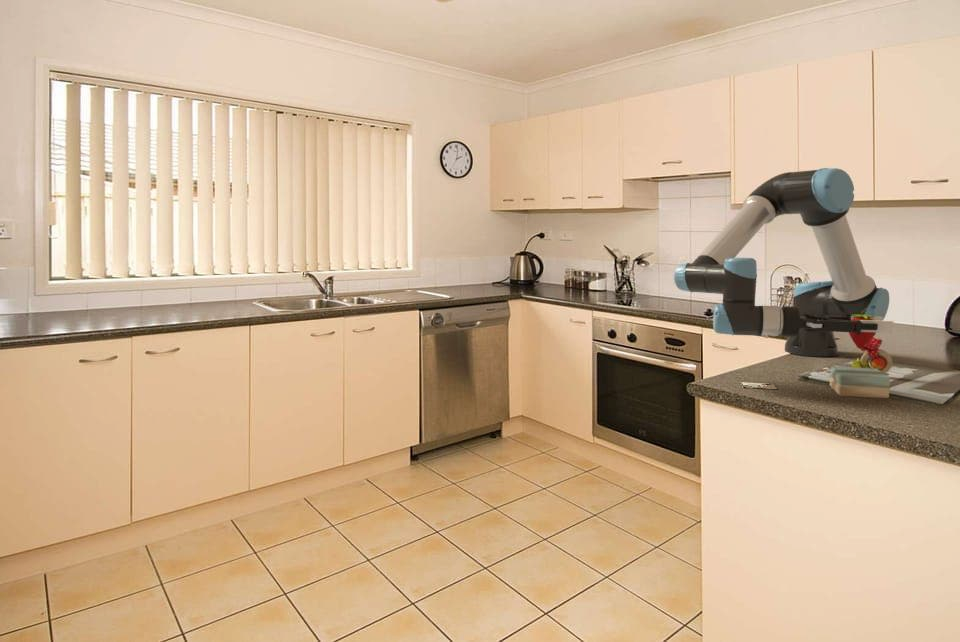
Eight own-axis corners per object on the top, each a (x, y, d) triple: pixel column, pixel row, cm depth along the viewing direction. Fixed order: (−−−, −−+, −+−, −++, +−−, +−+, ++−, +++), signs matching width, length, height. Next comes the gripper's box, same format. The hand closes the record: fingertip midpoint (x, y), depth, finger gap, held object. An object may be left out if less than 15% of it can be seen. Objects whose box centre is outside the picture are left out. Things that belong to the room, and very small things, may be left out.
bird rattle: (877, 381, 167) (843, 366, 170) (899, 346, 164) (864, 331, 166) (881, 387, 161) (846, 371, 164) (905, 350, 158) (868, 334, 161)
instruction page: (740, 382, 158) (740, 382, 158) (774, 384, 156) (774, 383, 156) (743, 388, 153) (743, 387, 153) (778, 390, 150) (778, 389, 150)
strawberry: (881, 348, 146) (884, 307, 145) (867, 352, 142) (870, 309, 141) (855, 345, 151) (858, 305, 150) (840, 348, 147) (843, 307, 146)
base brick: (829, 385, 154) (831, 366, 154) (875, 388, 151) (876, 368, 151) (840, 395, 145) (841, 374, 144) (888, 398, 142) (890, 377, 141)
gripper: (772, 330, 161) (872, 334, 154) (786, 342, 142) (900, 347, 135) (774, 302, 160) (874, 304, 153) (788, 310, 141) (903, 313, 134)
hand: (886, 324), depth 144 cm, fingers closed on strawberry, 7 cm apart
